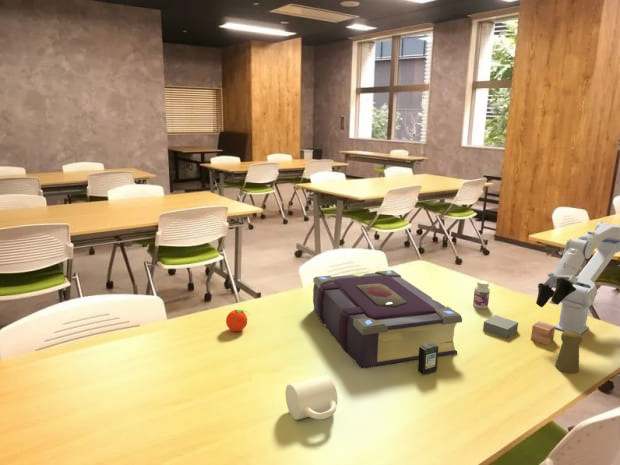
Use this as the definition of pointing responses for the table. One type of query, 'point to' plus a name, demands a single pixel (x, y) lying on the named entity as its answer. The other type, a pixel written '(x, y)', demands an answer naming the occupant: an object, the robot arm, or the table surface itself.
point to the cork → (569, 352)
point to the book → (382, 317)
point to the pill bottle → (481, 295)
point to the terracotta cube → (543, 332)
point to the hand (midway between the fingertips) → (546, 303)
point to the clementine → (236, 320)
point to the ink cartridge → (428, 358)
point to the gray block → (500, 326)
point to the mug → (312, 398)
